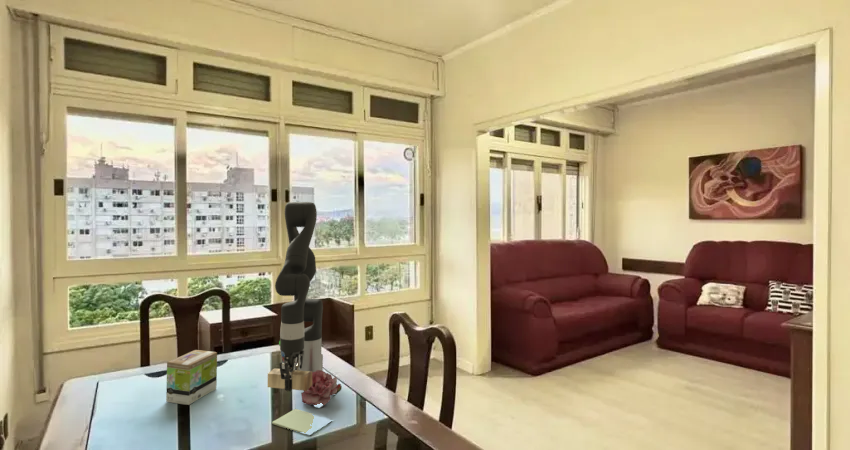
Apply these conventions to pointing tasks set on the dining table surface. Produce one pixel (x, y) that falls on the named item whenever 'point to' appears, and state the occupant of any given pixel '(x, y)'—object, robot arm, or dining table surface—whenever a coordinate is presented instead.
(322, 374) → the flower
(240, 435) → the dining table surface
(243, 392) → the dining table surface
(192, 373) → the tea box
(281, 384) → the beech block
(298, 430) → the felt mat
